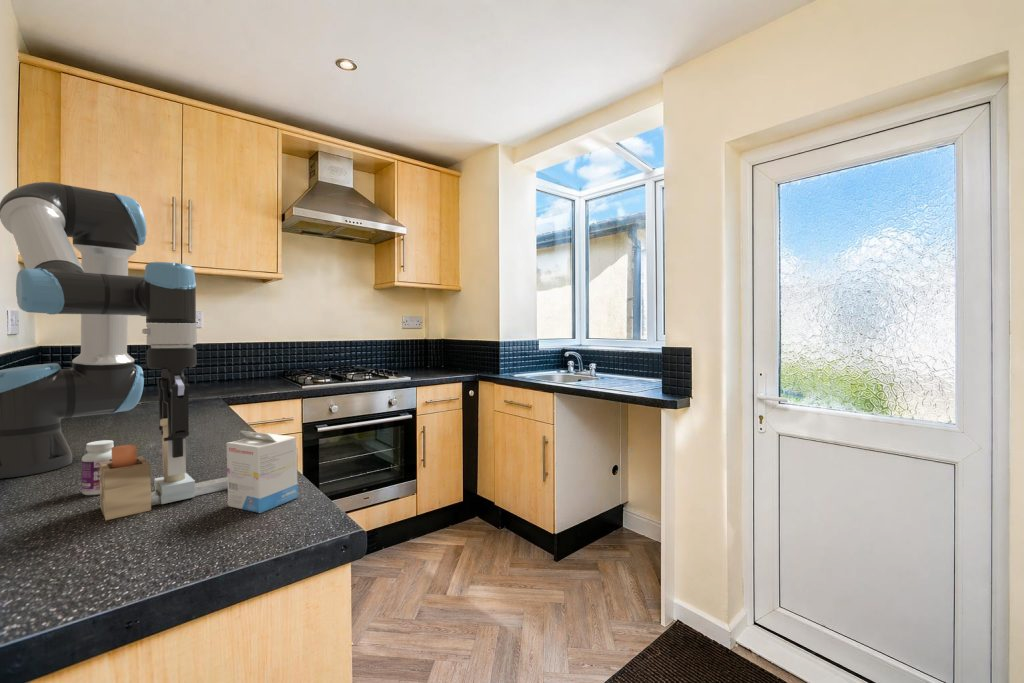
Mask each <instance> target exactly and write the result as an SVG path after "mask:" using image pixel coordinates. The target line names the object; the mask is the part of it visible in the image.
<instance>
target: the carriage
mask: <svg viewBox="0 0 1024 683" xmlns="http://www.w3.org/2000/svg"><path fill="white" fill-rule="evenodd" d="M160 426H163V435H162V436H163V459H162V461H163V460H164V471H163V476H161V477H155V478H154V479H153V480H154V481H153V482H154V484H153V485H154V492H155V491H159V493H160V503H161V504H160V505H164V504H168V503H173V502H177V501H182V500H187V499H191V498H192V499H193V498H195V497H196V496H194V489H195V483H196V480H195V479H194V478H192V476H191V475H190V474H188V473H187V472H186V473H182V474H177V475H171V476H168V475H167V441H164V438H167V437H168V418H164V419H161V420H160Z"/></svg>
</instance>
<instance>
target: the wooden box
mask: <svg viewBox="0 0 1024 683" xmlns="http://www.w3.org/2000/svg"><path fill="white" fill-rule="evenodd" d="M99 467H100V494H99V500H100V501H99V504H100V505H99V507H100V510H101V513H102V515H103V517H104V519H105V521H109V520H113V519H118V518H122V517H126V516H131V515H135V514H140V513H145V512H149V511H152V506H151V492H152V487H151V486H152V485H151V481H152V480H151V464H150V463H149V462H148V460H146V459H145V457H144V456H143V455H141V456H137V465H132V466H126V467H120V468H114V469H112V461H108V462H102V463H99Z"/></svg>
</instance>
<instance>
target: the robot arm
mask: <svg viewBox="0 0 1024 683" xmlns="http://www.w3.org/2000/svg"><path fill="white" fill-rule="evenodd" d="M0 222H1V224H2V226H3V227H4V229H5V230H6V231H8V232H9V233H11V234H12V236H13V238H14V240H15V242H16V246H17V249H18V251H19V255H20V256H21V259H22V262H23V265H24V267H25V268H24V269H23V268H22V269H20V270H18V272H17V274H16V280H15V281H16V282H15V294H16V296H15V297H16V300H17V301H16V302H17V305H18V306H17V307H19V309H20V310H22V311H23V312H27V313H35V314H36V313H37V314H47V315H80V353H79V355H77V356H76V357H74V358H73V359H72V361H71V364H72V365H71V366H72V367H71V368H62V366H60V364H59V363H56V362H55V363H52V362H51V363H43V364H31V365H24V366H16V367H10V368H5V369H0V479H9V478H16V477H23V476H31V475H37V474H41V473H46V472H50V471H54V470H57V469H61V468H65V467H66V466H69V465H71V464H72V463H73V452H72V449H71V448H70V446H69V444H68V442H67V439H66V437H65V436H64V433H63V432H62V425H61V424H62V419H67V418H68V419H69V418H75V417H76V418H77V417H86V416H95V415H96V416H97V415H105V414H109V415H110V414H111V415H112V414H116V413H119V412H128V411H131V410H132V409H134V408H136V406H137V405H138V404H139V402H140V400H141V399H142V398H141V397H142V395H143V390H144V385H145V384H144V382H145V377H144V371H143V368H142V367H141V366H140V365H138V364H135V358H133V357H132V356H131V355H130V354H129V353H128V316H140V317H145V323H146V325H145V326H146V328H142V329H141V331H142V332H141V334H143V335H146V345H148V346H150V348H147V350H146V367H147V368H148V369H150V370H160V371H161V374H160V377H158V378H157V380H156V385H157V392H158V393H157V394H158V396H157V398H158V423H159V426H158V429H159V431H160V434H161V435H162V436H161V442H162V443H161V446H162V448H161V450H162V452H161V454H162V455H161V456H162V457H161V458H162V472H164V460H163V426H160V420H161V419H164V418H168V437H167V438H164V441H167V475H168V476H171V475H177V474H182V473H187V453H186V452H187V450H186V438H187V437H189V436H190V432H189V431H190V430H189V422H190V421H189V419H190V418H189V413H190V412H189V410H190V409H189V408H190V407H189V405H190V404H189V403H190V402H189V401H190V400H189V399H190V398H189V396H190V388H191V385H190V383H189V382H188V381H189V379H188V377H185V371H184V369H186V368H188V369H190V368H194V367H197V364H198V363H197V354H198V353H197V348H196V347H194V345H197V343H198V342H197V336H198V335H197V333H198V332H197V323H196V322H197V320H196V319H197V317H196V316H197V313H196V312H197V310H196V309H197V306H196V303H197V302H196V300H197V299H196V297H197V295H196V292H197V291H196V287H197V282H196V275H195V274H196V273H195V269H194V267H192V266H191V265H190V264H186V263H179V262H168V261H152V262H149V263H146V265H145V266H144V275H143V276H135V275H134V276H133V275H129V259H130V257H131V256H133V255H134V254H136V253H137V246H138V247H139V246H143V245H145V242H146V239H147V238H146V237H147V223H146V218H145V214H144V211H143V208H142V207H141V205H140V203H139V202H138V201H137V200H136V199H134V198H133V197H130V196H126V195H122V194H118V193H115V192H109V191H108V192H107V191H103V190H97V189H91V188H85V187H81V186H79V187H78V186H73V185H69V184H63V183H58V182H50V181H42V182H41V181H40V182H38V181H37V182H32V183H28V184H23V185H21V186H18V187H16V188H14V189H12V190H10V191H9V192H7V194H5V195H4V196H3V197H2V199H1V201H0ZM69 238H72V243H71V241H70V239H69ZM73 247H74V248H75V249H76V250H77V251H78V252H80V255H81V261H80V260H79V258H78V256H77V253H76V251H75V249H74V248H73Z"/></svg>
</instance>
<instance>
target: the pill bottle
mask: <svg viewBox="0 0 1024 683" xmlns="http://www.w3.org/2000/svg"><path fill="white" fill-rule="evenodd" d="M113 447H115V445H114V440H109V439H108V440H107V439H105V440H104V439H103V440H95V441H91V442H87V443H86V446H85V450H86V452H87V453H85V454H84V455H83V456H82V457H81V493H82V495H85V496H97V495H99V496H100V467H99V463H102V462H108V461H112V448H113Z"/></svg>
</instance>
